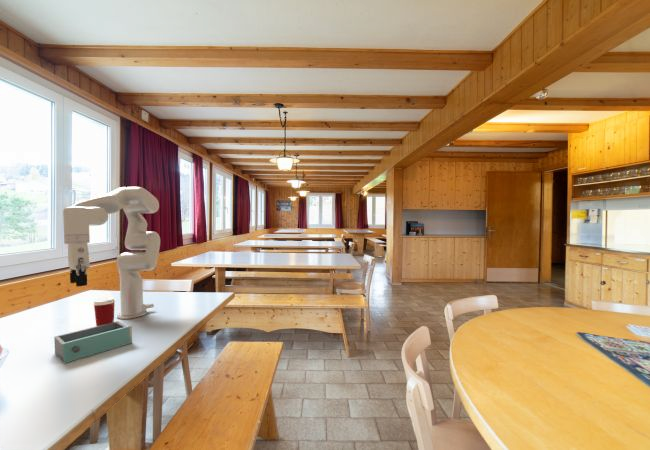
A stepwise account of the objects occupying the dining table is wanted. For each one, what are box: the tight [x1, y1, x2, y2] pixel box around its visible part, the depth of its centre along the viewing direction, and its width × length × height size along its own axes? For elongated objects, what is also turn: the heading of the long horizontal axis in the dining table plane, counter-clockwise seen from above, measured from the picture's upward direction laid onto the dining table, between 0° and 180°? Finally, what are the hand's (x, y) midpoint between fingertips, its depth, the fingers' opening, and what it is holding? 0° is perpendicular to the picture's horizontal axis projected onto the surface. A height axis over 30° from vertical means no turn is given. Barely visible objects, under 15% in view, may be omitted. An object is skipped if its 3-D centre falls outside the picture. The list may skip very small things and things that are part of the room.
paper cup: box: [92, 297, 116, 327], centre depth 131 cm, size 8×8×14 cm
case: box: [53, 321, 128, 363], centre depth 115 cm, size 20×12×6 cm, turn 141°
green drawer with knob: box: [63, 325, 133, 364], centre depth 111 cm, size 21×3×6 cm, turn 141°
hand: (78, 284), depth 117 cm, fingers open, 9 cm apart
